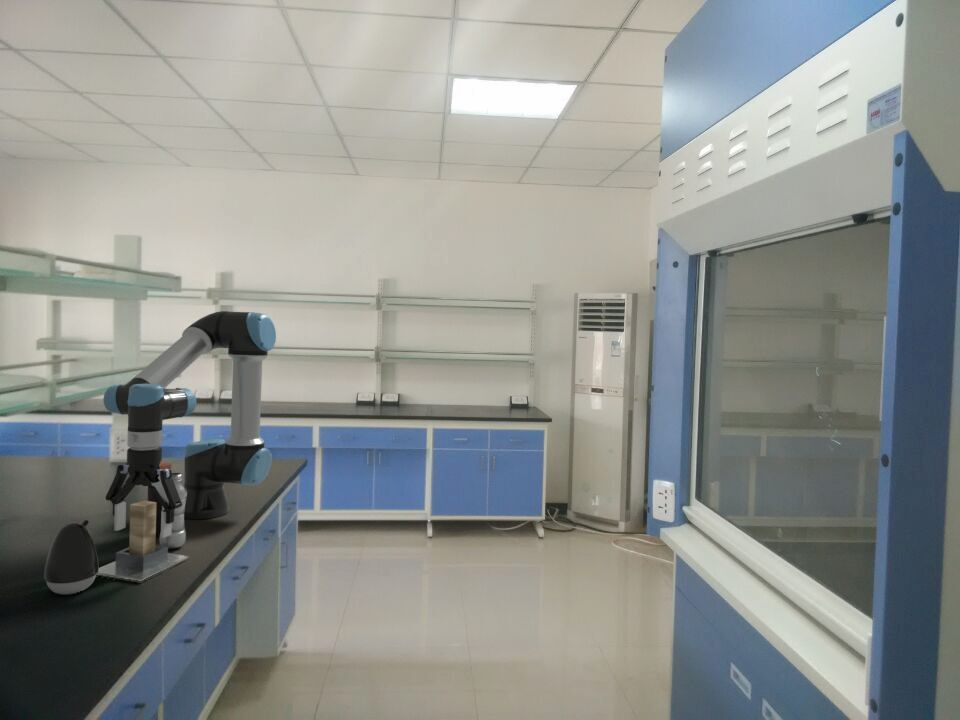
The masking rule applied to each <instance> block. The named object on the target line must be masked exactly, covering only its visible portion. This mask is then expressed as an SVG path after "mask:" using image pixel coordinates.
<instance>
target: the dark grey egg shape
mask: <svg viewBox="0 0 960 720" xmlns="http://www.w3.org/2000/svg"><path fill="white" fill-rule="evenodd" d="M89 523H90V522H89V520H88V519H84V520H83V521H82V522H81V523H80V522H69V523H67V524H64V526H62V527H61V528H60V529H59V530H58V532H57V533H56V535H55V537H54V539H53V541H52V542H51V545H50V549H49V552H48V553H47V554H48V555H47V557H46V561H45V566H44V573H43V580H45V582H46V585H47V586H48V588H49V590H51V591H52V592H53V593H55V594H59V595H72V594H73V595H74V594H78V593H80V591H81V592H82V591H85V590H86V589H89V587H90V586H91V585H92V584H93V583H94V581H95V579H96V577H97V576H96V574H97V573H98V571H99V568H100V567H99V565H100V564H99V558H98V554H97V553H98V552H97V548H96V545H95V542H94V540H93V536H92V535H91V533H90V531H89V530H88V528H87V526H88V524H89ZM77 592H78V593H77Z"/></svg>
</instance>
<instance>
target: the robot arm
mask: <svg viewBox="0 0 960 720" xmlns="http://www.w3.org/2000/svg"><path fill="white" fill-rule="evenodd" d="M276 331H277V330H276V328H275V324H274V322H273V320H272V319H271V317H269V316H268V315H267V314H265V313H260V312H255V311H254V312H253V311H250V312H248V311H247V312H246V311H228V310H227V311H225V310H221V311H215V312H213V313H209V314H207V315H205V316H202V317H201V318H199V319H197V320H196V321H194V322H192V323H191V324H190V325H189V326H188V327H186V328H185V329H184V330H183V331H182V334H181V337H180V338H179V339H178V340H176V341H175V342H174V343H173V344H172V345H171V346H169V347H168V348H166V350H165V351H163V352H162V353H161V354H160V355H159V356H158V357H156V358H155V359H154V360H153V361H152V362H151V363H149V364H148V365H147V366H146V367H145V368H142V370H141V371H140V372H138V373H137V374H136V375H135V376H134V377H133V378H132V379H130V380H129V381H127V383H126V384H118V385H117V384H115V385H114V384H113V385H110V386H109V387H108V388H107V389H106V391H105V392H104V395H103V405H104V407H105V409H106V410H107V411H108V412H110V413H112V414H119V415H126V416H127V447H128V448H127V450H126V463H122V464H118V465H117V467H116V473H115V476H114V478H113V480H112V482H111V485H110V487H109V489H108V491H107V494H106V495H105V500H106V501H110V502H111V503H112V515H113V518H114V519H113V520H114V522H113V523H114V524H113V526H114V527H113V530H114V531H116V532H118V531H121V530H123V529H126V519H127V517H126V516H127V514H126V513H127V501H126V500H125V499H126V498H127V496H128V495H129V494H130V493H131V491H132V490H133V489H134V488H135V487H136V486H143V487H147V488H148V487H149V488H150V489H152V491H153V492H154V494H155V495H156V497H157V499H158V500H159V502H160V503H161V505H162V506H163V508H164V510H163V511H161V538H164V537H167V536H169V535H171V533H172V523H173V522H174V510H175V509H176V508H179V507H181V506H182V502H181V500H180V497H179V494H178V492H177V489H176V487H175V484H174V481H173V479H172V473H173V471H172V468H171V469H170V468H168V469H162V470H161V469H160V466H159V465H160V463H162V461H163V460H162V459H163V458H162V456H163V449H162V447H161V446H162V445H163V421H165V420H171V419H172V420H173V419H176V418H177V419H178V418H183V417H186V416H188V415H190V414H192V413H193V412H194V411H195V410H196V407H197V397H196V395H195V393H194V391H192V390H191V389H188V388H186V387H175V388H167V387H168V386H169V385H170V384H171V383H173V382H174V380H175V379H177V378H178V377H179V376H180V375H181V374H182V373H183V372H184V371H185V370H187V369H188V368H189V367H190V366H191V365H192V364H193V363H194V362H195V361H197V359H199V358H200V357H201V356H202V355H203V356H204V355H207V354H209V353H210V352H211V351H212V350H216V349H227V350H228V351H227V355H228V356H229V358H231V360H232V382H231V384H232V386H231V387H232V388H231V409H230V410H231V414H230V437H228V439H226V440H225V439H223V438H221V439H220V438H217V439H216V438H215V439H205V440H200V441H193V442H191V443H188V444H187V445H186V447H185V452H184V456H183V458H184V470H183V471H184V472H183V474H184V475H183V477H184V480H183V481H184V483H183V486H184V487H185V489H186V491H187V498H186V503H185V511H184V519H189V520H205V519H212V518H218V517H221V516H222V517H223V516H225V515H226V514H228V513H229V511H230V503H229V501H228V498H227V493H226V490H225V486H224V484H225V483H226V484H234V485H235V484H236V485H242V486H247V485H248V486H257V485H259V484H261V483H262V482H263V481H264V480H265V479H266V477H267V476H268V474H269V472H270V469H271V466H272V461H273V457H272V453H271V451H270V449H268V448H266V447H265V440H264V439H263V438H262V437H261V436H260V435H261V412H262V411H261V409H262V408H261V406H262V405H261V404H262V376H263V362H264V360H265V359H266V358H267V357H268V352H269V351H271V350H273V348H274V347H275V344H276V342H277V333H276ZM128 475H129V476H128ZM127 477H128V478H127ZM154 482H156V483H154Z"/></svg>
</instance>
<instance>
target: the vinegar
mask: <svg viewBox="0 0 960 720" xmlns="http://www.w3.org/2000/svg"><path fill="white" fill-rule="evenodd" d="M159 466H160V469H161V470H162V469H168V468H170V469H171V470H172V463H170V462H160V465H159ZM154 483H156V482H154ZM146 501H150V502H156V536H159V537H160V533H161V511H162V505H161V503H160V502H159V500H158V499H157V497H156V495H155V494H154V492H153V491H152V489H150V488H149V487H148V486H147V500H146Z"/></svg>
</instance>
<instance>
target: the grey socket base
mask: <svg viewBox="0 0 960 720" xmlns="http://www.w3.org/2000/svg"><path fill="white" fill-rule="evenodd" d="M187 558H189V559H190V556H189V555H183V554H177V553H171V552H169V549H168V546H162V545H160V544H157V543H155V550H154V551H152V552H149V553H147V554H145V555H138V554H132V553H129V547H127V548H124V549H122V550H119V551H117V552H115V561H112V562H110V563H108V564H105V565H103V566H100V567H99V571H98V573H97V574H96V575H103V576H109V577H115V578H124V579H131V580H138V581H142V580H144V579H146V578H148V577H150V576H152V575H154V574H156V573H158V572H160V571H163V570H165V569H167V568H169V567H171V566H173V565H175V564H177V563H179V562H181V561H183V560H185V559H187Z"/></svg>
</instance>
